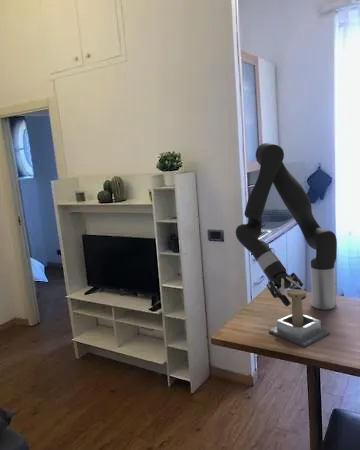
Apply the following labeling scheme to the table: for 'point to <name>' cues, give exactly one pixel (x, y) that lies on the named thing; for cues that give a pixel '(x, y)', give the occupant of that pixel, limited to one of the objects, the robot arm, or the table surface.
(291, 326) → the socket
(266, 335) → the table surface
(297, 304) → the handle
